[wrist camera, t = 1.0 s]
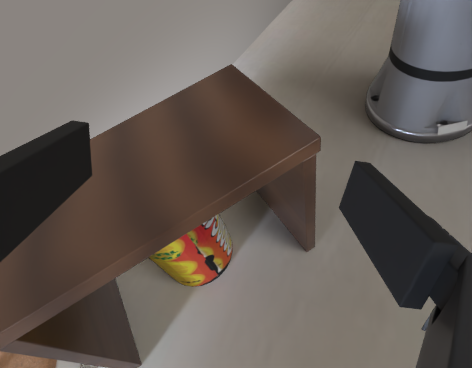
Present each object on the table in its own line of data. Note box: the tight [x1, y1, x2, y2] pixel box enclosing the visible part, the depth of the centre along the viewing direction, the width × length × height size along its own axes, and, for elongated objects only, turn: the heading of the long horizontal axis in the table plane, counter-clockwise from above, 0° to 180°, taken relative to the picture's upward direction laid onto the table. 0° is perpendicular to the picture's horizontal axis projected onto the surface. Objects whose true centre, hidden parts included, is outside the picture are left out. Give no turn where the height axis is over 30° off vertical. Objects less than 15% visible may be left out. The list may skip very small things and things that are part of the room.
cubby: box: [0, 64, 321, 368], centre depth 30 cm, size 25×13×18 cm, turn 121°
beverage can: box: [149, 214, 233, 287], centre depth 33 cm, size 9×9×12 cm
